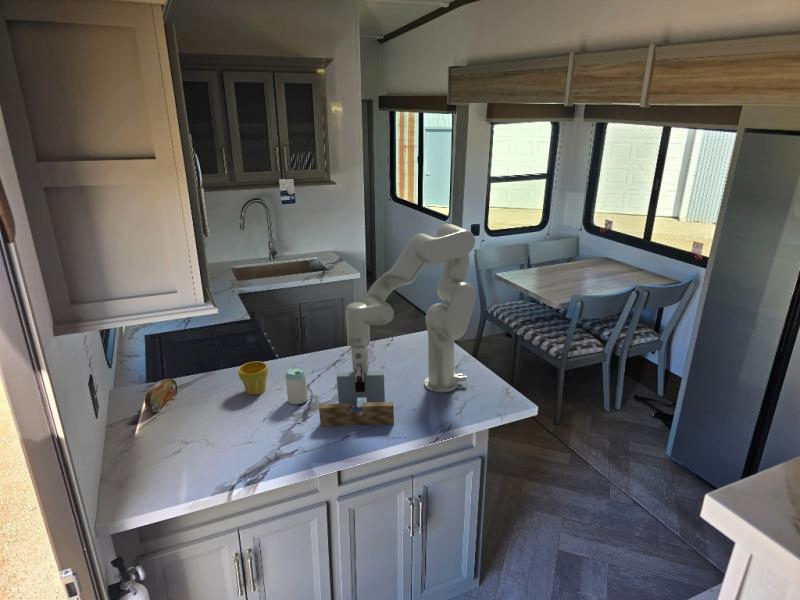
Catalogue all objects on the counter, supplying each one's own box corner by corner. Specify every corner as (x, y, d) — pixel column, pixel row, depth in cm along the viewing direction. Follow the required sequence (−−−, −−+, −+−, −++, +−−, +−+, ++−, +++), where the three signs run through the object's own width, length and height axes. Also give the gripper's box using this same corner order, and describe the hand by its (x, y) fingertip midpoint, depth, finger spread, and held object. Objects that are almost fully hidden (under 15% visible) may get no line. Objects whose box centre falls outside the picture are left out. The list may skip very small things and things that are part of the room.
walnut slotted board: (393, 420, 174) (393, 401, 171) (394, 424, 171) (393, 405, 169) (321, 422, 173) (319, 404, 171) (320, 426, 171) (319, 408, 168)
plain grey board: (384, 401, 185) (383, 370, 181) (384, 405, 182) (383, 374, 178) (339, 402, 185) (337, 372, 181) (339, 407, 182) (336, 376, 178)
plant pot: (236, 396, 191) (232, 372, 187) (250, 383, 200) (247, 359, 197) (261, 399, 188) (258, 375, 185) (274, 385, 198) (272, 362, 194)
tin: (153, 417, 179) (149, 395, 176) (145, 416, 180) (140, 394, 177) (179, 395, 193) (175, 374, 190) (172, 394, 193) (168, 374, 191)
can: (311, 396, 189) (308, 367, 185) (303, 406, 183) (299, 376, 179) (293, 394, 191) (290, 365, 187) (284, 404, 185) (281, 374, 181)
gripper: (369, 349, 167) (371, 396, 173) (370, 328, 183) (372, 372, 189) (345, 350, 167) (348, 397, 173) (349, 329, 183) (351, 373, 189)
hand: (361, 384), depth 181 cm, fingers open, 9 cm apart
